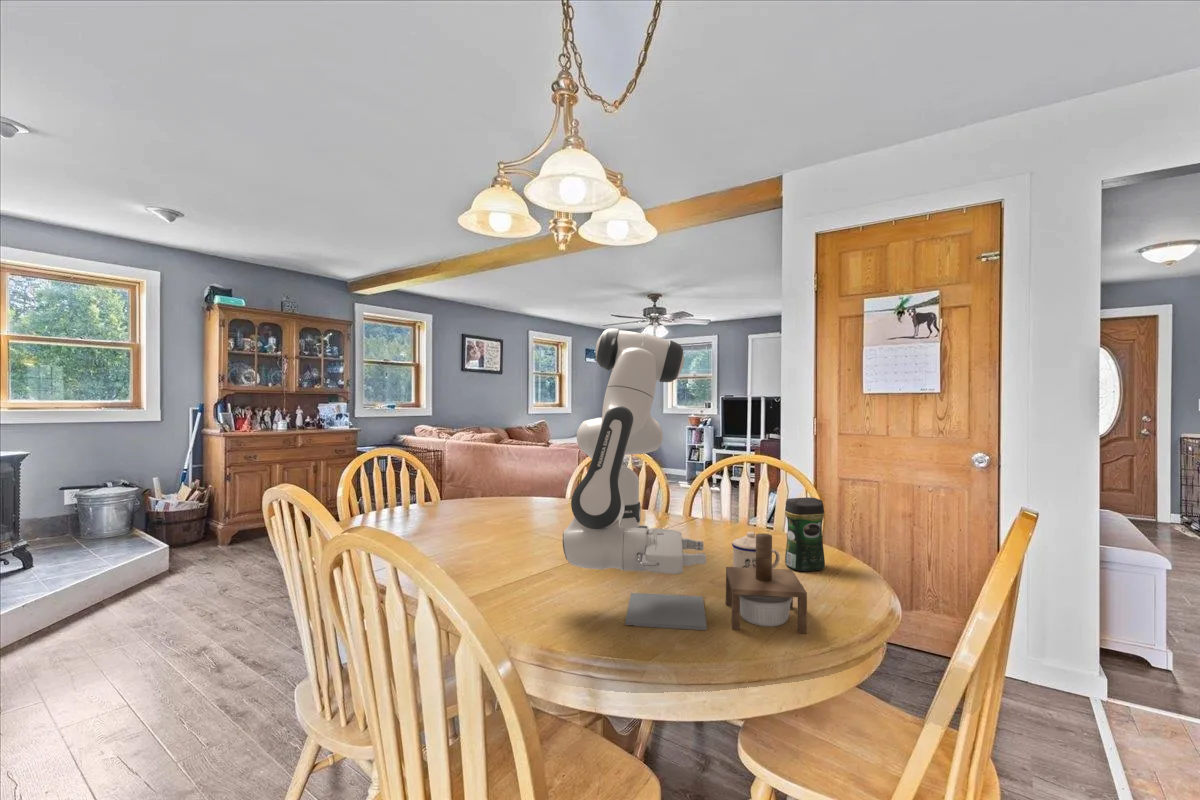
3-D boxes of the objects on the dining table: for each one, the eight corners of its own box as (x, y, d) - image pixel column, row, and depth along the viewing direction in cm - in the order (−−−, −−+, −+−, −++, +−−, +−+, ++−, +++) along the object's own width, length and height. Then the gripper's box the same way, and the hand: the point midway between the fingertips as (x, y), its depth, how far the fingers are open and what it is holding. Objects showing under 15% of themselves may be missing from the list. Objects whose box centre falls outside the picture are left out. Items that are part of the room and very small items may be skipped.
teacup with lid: (739, 586, 134) (740, 537, 133) (726, 573, 143) (726, 528, 142) (787, 584, 135) (787, 536, 135) (771, 572, 144) (771, 527, 144)
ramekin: (759, 633, 108) (759, 606, 108) (724, 612, 118) (724, 587, 118) (804, 623, 112) (804, 597, 112) (766, 604, 123) (766, 580, 123)
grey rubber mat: (625, 625, 111) (625, 621, 111) (631, 596, 127) (631, 592, 127) (706, 630, 109) (706, 626, 109) (702, 599, 125) (702, 596, 125)
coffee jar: (812, 562, 153) (813, 494, 152) (829, 571, 145) (830, 500, 144) (779, 563, 151) (780, 495, 151) (795, 573, 143) (795, 501, 143)
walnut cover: (732, 629, 109) (732, 543, 109) (725, 602, 123) (726, 526, 123) (806, 633, 107) (807, 546, 107) (791, 606, 121) (791, 528, 121)
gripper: (635, 548, 108) (707, 551, 106) (641, 523, 128) (702, 525, 127) (635, 580, 108) (707, 584, 106) (641, 550, 128) (702, 553, 127)
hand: (704, 551), depth 117 cm, fingers open, 8 cm apart
